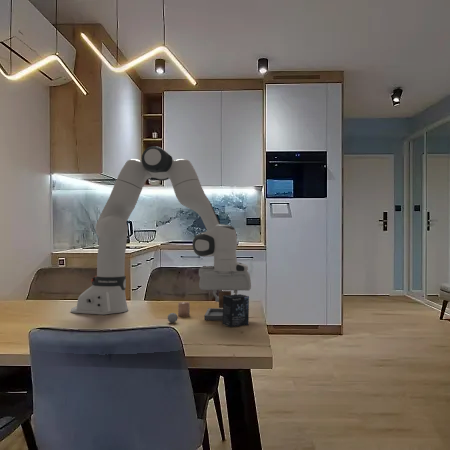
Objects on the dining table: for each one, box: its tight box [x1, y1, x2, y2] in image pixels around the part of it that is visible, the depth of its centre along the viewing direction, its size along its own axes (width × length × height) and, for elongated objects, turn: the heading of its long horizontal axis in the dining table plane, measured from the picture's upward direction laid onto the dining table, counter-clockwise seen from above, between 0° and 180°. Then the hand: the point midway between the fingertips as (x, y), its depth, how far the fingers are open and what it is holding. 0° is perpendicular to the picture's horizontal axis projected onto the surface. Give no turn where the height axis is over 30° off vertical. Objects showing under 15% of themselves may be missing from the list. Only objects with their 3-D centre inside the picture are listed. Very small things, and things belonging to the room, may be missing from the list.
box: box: [222, 293, 250, 328], centre depth 186 cm, size 8×6×11 cm
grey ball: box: [167, 312, 179, 324], centre depth 188 cm, size 4×4×4 cm
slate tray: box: [203, 307, 223, 322], centre depth 201 cm, size 14×16×2 cm
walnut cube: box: [218, 290, 232, 308], centre depth 201 cm, size 4×4×6 cm
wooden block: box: [177, 301, 191, 317], centre depth 203 cm, size 4×4×5 cm
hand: (225, 301), depth 201 cm, fingers closed on walnut cube, 4 cm apart
